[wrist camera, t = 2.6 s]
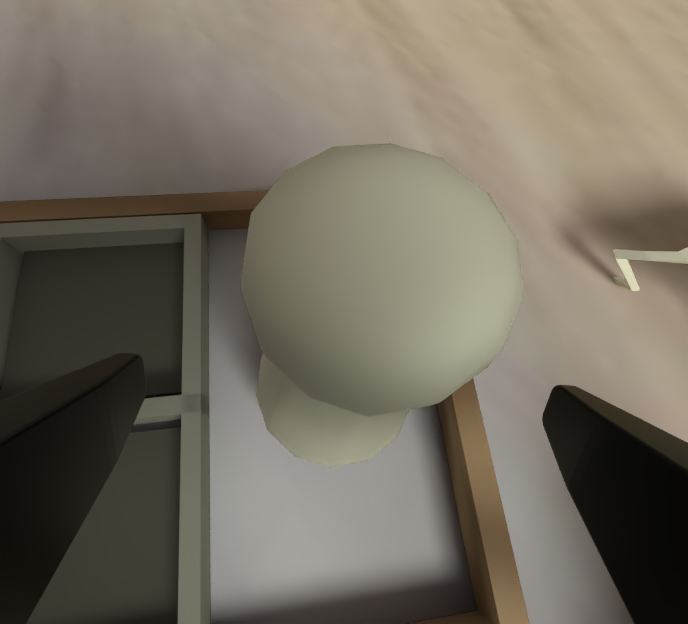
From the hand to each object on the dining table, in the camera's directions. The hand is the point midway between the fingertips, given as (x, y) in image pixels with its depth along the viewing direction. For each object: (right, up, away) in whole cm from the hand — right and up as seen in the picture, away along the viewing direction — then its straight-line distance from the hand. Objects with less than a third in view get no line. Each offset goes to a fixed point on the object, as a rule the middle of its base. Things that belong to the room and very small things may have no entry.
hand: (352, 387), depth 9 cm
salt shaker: (-1, -2, +9) cm, 9 cm away
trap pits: (-10, -3, +7) cm, 13 cm away
